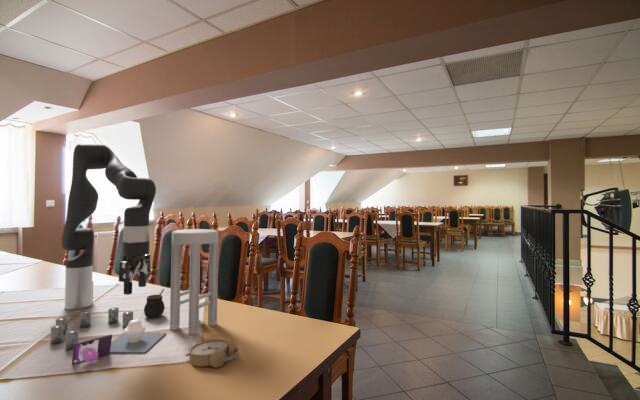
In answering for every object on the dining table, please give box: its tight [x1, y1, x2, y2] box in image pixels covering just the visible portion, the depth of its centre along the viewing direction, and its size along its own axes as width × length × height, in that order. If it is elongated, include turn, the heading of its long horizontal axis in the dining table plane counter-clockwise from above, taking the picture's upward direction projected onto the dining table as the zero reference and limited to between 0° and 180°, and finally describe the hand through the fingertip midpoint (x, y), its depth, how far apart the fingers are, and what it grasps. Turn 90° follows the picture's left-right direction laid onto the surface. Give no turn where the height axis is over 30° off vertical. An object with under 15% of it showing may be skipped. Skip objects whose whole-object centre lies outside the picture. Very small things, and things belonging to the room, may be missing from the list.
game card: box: [71, 334, 113, 365], centre depth 91 cm, size 7×5×9 cm
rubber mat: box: [110, 332, 167, 354], centre depth 103 cm, size 14×14×1 cm
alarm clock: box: [185, 338, 239, 369], centre depth 94 cm, size 11×5×15 cm
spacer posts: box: [50, 307, 134, 351], centre depth 110 cm, size 24×22×5 cm
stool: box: [169, 228, 220, 336], centre depth 118 cm, size 16×16×35 cm
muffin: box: [122, 318, 146, 343], centre depth 104 cm, size 6×6×7 cm
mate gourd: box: [143, 288, 166, 319], centre depth 127 cm, size 7×8×10 cm
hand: (135, 290), depth 104 cm, fingers open, 8 cm apart
